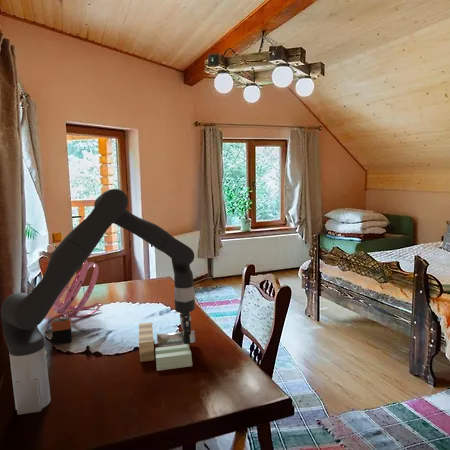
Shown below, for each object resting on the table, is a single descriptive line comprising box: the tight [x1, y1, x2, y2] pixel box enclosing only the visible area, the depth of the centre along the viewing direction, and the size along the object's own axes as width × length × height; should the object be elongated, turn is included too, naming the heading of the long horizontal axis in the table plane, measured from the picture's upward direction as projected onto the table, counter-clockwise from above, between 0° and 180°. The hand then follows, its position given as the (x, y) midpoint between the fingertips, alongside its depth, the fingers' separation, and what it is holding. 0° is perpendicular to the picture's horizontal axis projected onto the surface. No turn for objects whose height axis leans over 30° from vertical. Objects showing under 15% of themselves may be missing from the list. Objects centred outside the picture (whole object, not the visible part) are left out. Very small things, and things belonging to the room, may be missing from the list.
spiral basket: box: [52, 260, 102, 319], centre depth 186 cm, size 28×28×27 cm
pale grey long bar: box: [156, 330, 196, 348], centre depth 148 cm, size 14×4×4 cm, turn 102°
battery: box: [50, 316, 73, 346], centre depth 157 cm, size 4×7×10 cm, turn 107°
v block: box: [154, 344, 193, 372], centre depth 137 cm, size 10×12×4 cm
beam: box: [138, 322, 156, 363], centre depth 147 cm, size 18×5×7 cm, turn 12°
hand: (186, 340), depth 149 cm, fingers closed on pale grey long bar, 4 cm apart
